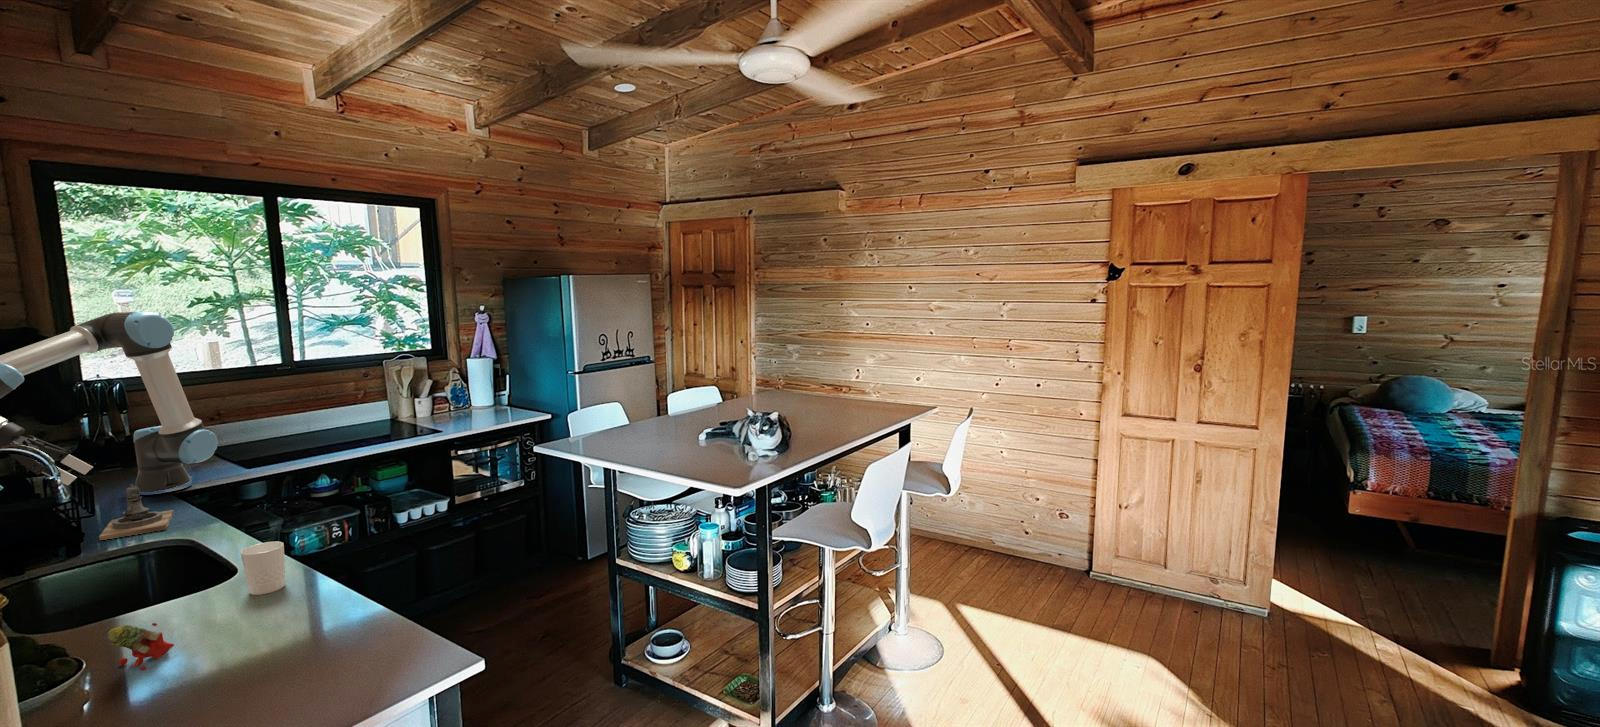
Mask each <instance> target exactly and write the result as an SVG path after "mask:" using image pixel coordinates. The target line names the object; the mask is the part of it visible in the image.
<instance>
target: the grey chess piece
mask: <svg viewBox="0 0 1600 727" xmlns="http://www.w3.org/2000/svg"><path fill="white" fill-rule="evenodd" d="M125 493H126V498H125V501H126V503H127V509H126V511H123V512H122V513H121V515H123V517H125V518H126V519H127V520H132V521H129V522H134V521H140V520H144V519H146V518H144V517H146V515H147V514H148V512H149V511H150V508H149V507H146V506H145V507H144V505H143V504H142V503H143V502H142V498H143V496H140V492H139V488H138V487H136V486H135V485H134V484H133V483H131V484H130V485H129V487H127V488H125ZM142 518H143V519H142Z"/></svg>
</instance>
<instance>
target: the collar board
mask: <svg viewBox="0 0 1600 727" xmlns="http://www.w3.org/2000/svg"><path fill="white" fill-rule="evenodd" d="M173 514H174V515H175V512H174V509H171V510H170V509H169V510H164V511H148V514H147V515H146V517H144V518H146V519H144V520H140V521H134V522H129V521H132V520H127V519H126V518H125V517H124V516H122V517H119V518H116V519H111V520H110V521H109V522H108V524H107V525H106V527H105V528H104V529H103V531H102V532H101V533H100V534H99V536H98V538H99V541H100V540H106V541H108V540H107V539H112V540H114V539H113V538H118V537H123V538H125V537H124V536H129V537H132V536H131V535H135V536H139V535H138V534H141V535H144V534H143V533H146V534H151V533H150V532H152V533H155V532H154V531H158V532H161V531H160V530H164V531H167V530H168V528H167V527H169V526H170V524H169V523H171V522H170V520H171V519H172V520H173V518H172V516H173V517H174V515H173ZM142 519H143V518H142ZM172 520H171V521H172ZM168 525H169V526H168ZM166 529H167V530H166ZM118 539H119V538H118Z"/></svg>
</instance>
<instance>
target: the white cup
mask: <svg viewBox="0 0 1600 727" xmlns="http://www.w3.org/2000/svg"><path fill="white" fill-rule="evenodd" d="M240 556H241V561H242V567H243V573H244V577H245V581H246V584H247V588H248V593H249V594H250V595H253V596H255V595H256V596H260V595H265V594H270V593H274V592H277V591H278V590H281V589H282V588H284V587H285V586H286V578H285V576H286V575H285V574H286V566H285V565H286V563H285V562H286V560H285V545H284V542H282V541H267V542H262V543H256V544H254V545H250V546H248V547H245V548H243V549H242V550H241V551H240Z"/></svg>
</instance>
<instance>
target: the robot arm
mask: <svg viewBox="0 0 1600 727" xmlns="http://www.w3.org/2000/svg"><path fill="white" fill-rule="evenodd" d="M173 337H175V329H174V327H173V325H172V323H171V321H170V320H169V319H168V318H167V317H165V316H164V315H161V314H159V313H156V312H150V311H131V312H130V311H129V312H111V313H108V314H107V313H106V314H103V315H100V316H98V317H96V318H93V319H89V320H87V321H85V322H82V323H79V324H76V325H74V326H71V327H70V329H69V331H66V332H64V333H61V334H57V335H55V336H52V337H49V338H46V339H44V340H40V341H38V342H35V343H31V344H29V345H26V346H24V347H23V346H22V347H21V348H18V349H15V350H12V351H9V352H5V353H4V354H1V355H0V399H2V398H4V397H5V396H7V395H8V394H10V393H11V392H12V391H13V390H16V388H17V387H19V386H20V385H21V384H23V383H24V381H25V377H24V376H26V375H29V374H31V373H34V372H36V371H40V370H41V369H45V368H48V367H51V366H52V365H56V364H58V363H60V362H65V361H66V360H69V359H72V358H74V357H76V356H79V355H81V354H85V353H88V354H94V353H96V352H99V351H103V350H106V349H116V348H122V351H123V353H124V355H125V357H126V358H127V359H130V360H132V361H134V363H135V366H136V368H137V370H138V372H139V375H140V377H141V380H142V382H143V385H144V387H145V389H146V392H147V393H148V396H149V399H150V401H151V403H152V405H153V408H154V409H155V412H156V415H157V417H158V419H159V423H160V424H161V425H158V426H151V427H146V428H141V429H138V430H135V431H134V433H133V443H134V444H133V445H134V449H135V450H134V451H135V456H136V464H137V470H138V471H137V477H136V479H135V483H134V486H136V487H138V488H139V492H154V491H159V490H165V489H169V488H173V487H176V486H180V485H183V484H185V483H187V482H189V481H190V480H191V481H192V478H191V476H190V474H188V472H187V470H186V468H185V467H184V464H188V465H191V464H195V463H196V464H198V463H202V462H205V461H207V460H208V459H210V458H212V456H213V455H214V454H215V452H216V450H217V449H218V444H219V441H218V437H217V435H216V434H215V432H213V431H211V430H208V429H206V428H205V426H204V424H203V421H202V419H200V418H197V417H195V416H194V414H193V412H192V409H191V406H190V405H189V404H190V403H189V401H188V399H187V395H186V394H185V392H184V391H185V390H183V386H182V384H181V381H180V379H179V377H178V374H177V372H176V369H175V367H174V365H173V361H172V359H171V357H170V354H169V352H170V351H171V349H173V347H172V343H171V342H172V341H173ZM24 433H25V428H24V427H22V426H20V425H18V424H16V423H15V422H9V420H8V419H7V418H5V417H3V416H1V415H0V447H2V446H9V445H26V446H30V447H34V448H36V449H39V450H41V451H43V452H45V453H46V454H48V455H49V456H50V457H52V458H51V459H55V460H58V461H60V463H61V464H63V465H65V466H67V467H69V468H71V469H72V470H74V471H76V472H78V473H79V474H82V475H86V474H87V473H89V471H91V470H92V469H93V468H94V466H93V465H90V464H89V463H87V462H85V461H83V460H81V459H79V458H77V457H76V456H74V455H71V453H72V450H70V449H65V448H63V447H61V446H58V445H55V444H54V443H50V442H48V441H45V440H42V439H39V438H38V437H36V436H34V435H32V434H31V435H30V434H29V435H28V436H23V435H22V434H24ZM8 455H9V456H11V457H12V458H13V459H15V460H16V461H18V462H19V463H20V464H21V465H23V467H25V468H26V469H28V470H29V471H31V472H32V473H34V474H35V475H40V474H41V473H42V474H44V475H46V476H48V477H50V478H52V476H51V473H50V471H49V469H48V468H47V467H46V466H45V465H43V464H42V463H40V462H38V461H37V460H34V459H32V458H30V457H26V456H23V455H18V454H8ZM50 457H49V458H50ZM56 467H57V468H58V470H59V473H60V475H61V481H62V483H61V484H64V485H65V486H69V485H70V484H71V483H73V482H74V481H75V480H76V479H77V478H78V477H77V476H75V475H73V474H71V473H69V472H68V471H66V470H64V469H61V467H58V466H56Z"/></svg>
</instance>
